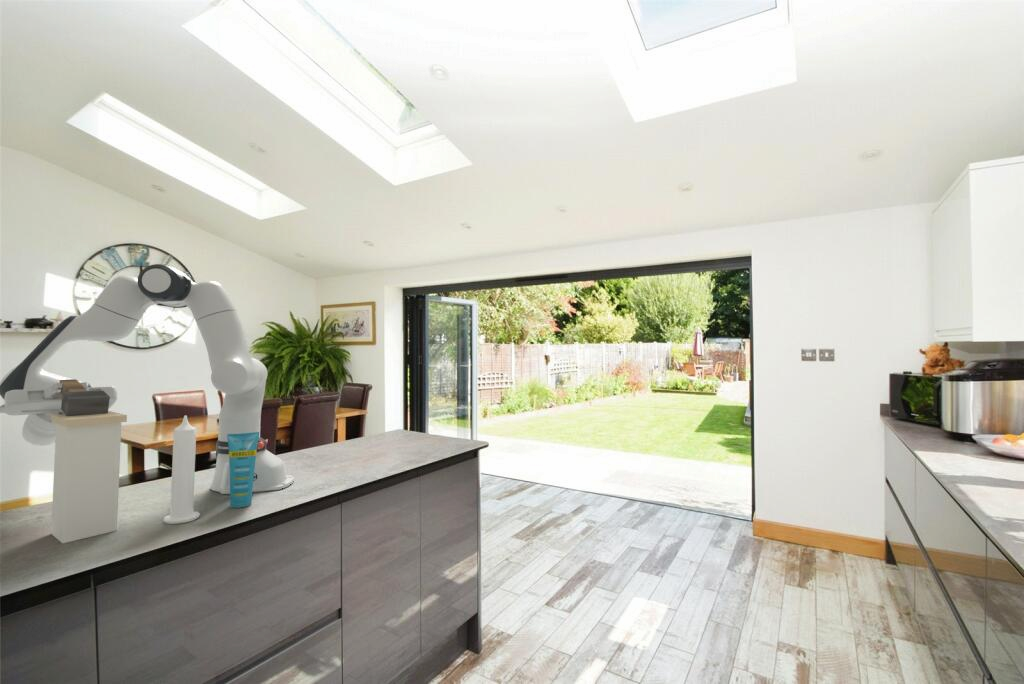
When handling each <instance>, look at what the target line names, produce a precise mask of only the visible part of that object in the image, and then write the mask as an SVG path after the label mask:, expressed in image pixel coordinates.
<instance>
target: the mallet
mask: <svg viewBox="0 0 1024 684" xmlns="http://www.w3.org/2000/svg"><path fill="white" fill-rule="evenodd" d="M72 379H73V380H68V379H67V380H60V383H63V390H62V392H59V393H60V394H61V395H62V404H61V410H62V411H63V412H64V414H65V415H66V416H78V415H92V414H106V413H108V411H109V409H110V408H109V400H110V396H109V395H107V394H106V393H105V392H104V391H103V390H102V391H87V390H86V389H85V388H84V387H83V386H82V385H81V384H80V383H79V382H78V381H77V380H78V379H75V378H72ZM108 408H109V409H108Z"/></svg>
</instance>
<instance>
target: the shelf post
mask: <svg viewBox="0 0 1024 684" xmlns="http://www.w3.org/2000/svg"><path fill="white" fill-rule="evenodd" d="M127 416H128V415H127V414H124V413H120V412H115V411H111V410H108V413H106V414H92V415H78V416H66V415H65V414H58V415H52V418H51V422H54V423H56V438H55V443H54V463H53V486H52V487H53V488H52V506H51V508H52V509H51V526H50V527H51V528H50V531H51V532H50V534H51V535H52V536H53V537H54V538H55V539H56V540H58V541H59V542H60V543H61V544H66V543H67V544H68V543H69V542H74V541H79V540H83V539H87V538H91V537H95V536H101V535H104V534H108V533H112V532H116V531H117V530H118V518H119V517H118V513H119V512H118V511H119V493H120V492H119V489H120V487H119V486H120V468H121V467H120V466H121V465H120V464H121V445H122V444H121V441H122V436H121V435H122V423H126V422H127V421H128V420H127V418H128V417H127Z"/></svg>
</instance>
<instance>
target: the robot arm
mask: <svg viewBox="0 0 1024 684" xmlns="http://www.w3.org/2000/svg"><path fill="white" fill-rule="evenodd" d="M93 302H94V303H93V304H92V305H91V307H89V309H88V310H86V311H85V312H83V313H81V314H79V315H69V316H67V318H65V319H63V320H62V321H61V322H60V323H58V325H57V326H56V327H55V328H54V329H53V330H51V331H50V333H48V335H47V336H45V338H44V339H42V340H41V341H40V342H39V344H38V345H36V347H35V348H34V349H33V350H32V351H31V352H30V353H29V354H28V355H27V356H26V357H25V358H24V359H23V360H22V361H21V362H20V363H19V364H18V365H16V366H15V367H14V368H12V369H11V370H9V372H7V373H5V375H4V376H3V377H2V379H1V380H0V397H1V398H2V399H3V401H4V403H3V404H1V405H0V414H6V415H9V416H26V418H25V421H24V423H23V425H22V432H21V433H22V435H21V436H22V437H23V439H24V440H25V441H26V442H28V443H29V444H31V445H35V446H38V447H39V446H50V445H52V444H55V438H56V423H54V422H51V418H52V415H58V414H64V412H63V411H62V410H61V404H62V395H61V394H60V393H59V392H62V390H63V383H60V380H73V379H74V378H71V377H68V376H64V375H62V374H61V375H60V374H57V373H53V372H50V371H48V370H45V369H44V368H43V366H45V364H46V363H47V362H48V361H49V360H50V359H51V358H52V356H54V355H55V353H57V351H58V350H59V349H60V348H61V347H62V346H64V345H65V344H67V343H71V342H75V341H88V342H89V341H90V342H91V341H92V342H113V341H114V342H115V341H120V340H122V339H125V338H127V337H128V336H130V335H131V334H132V332H133V331H134V330H135V328H137V326H138V324H139V323H140V320H141V319H142V317H143V315H144V313H146V311H147V310H148V309H149V308H150V307H151V306H154V305H157V306H159V307H160V306H161V307H169V308H173V309H174V308H175V309H183V308H187V307H188V308H189V310H190V311H191V313H192V316H193V317H194V320H195V322H196V325H197V327H198V330H199V333H200V334H201V337H202V340H203V342H204V345H205V347H206V348H205V349H206V351H207V357H208V361H209V365H210V366H209V367H210V369H211V374H210V380H211V383H212V385H213V387H214V388H215V389H216V390H217V391H218V392H221V393H222V394H225V395H224V398H223V402H222V406H221V409H220V411H219V415H218V433H217V434H218V435H217V437H218V439H217V440H216V444H215V458H216V464H215V469H214V470H215V471H214V473H213V478H212V482H211V484H210V487H209V489H210V490H211V491H213V492H218V493H220V494H221V495H230V464H229V447H228V439H227V434H240V433H251V432H259V439H258V445H257V452H256V460H255V469H254V479H253V490H252V493H256V492H268V491H269V492H270V491H279V490H282V488H283V489H285V488H288V487H289V486H291V485H292V484H293V483H294V482H293V481H295V477H294V476H293V475H292V474H288V472H287V468H286V467H287V466H286V463H285V462H284V460H283V459H281V458H280V457H278V456H277V455H275V453H274V454H273V453H272V452H271V451H269V450H268V449H267V444H268V443H269V442H268V440H269V439H268V438H267V439H264V438H263V437H262V436H261V421H262V420H261V419H262V417H261V416H262V408H263V404H264V396H265V392H266V391H265V389H266V386H267V385H266V384H267V379H268V369H267V367H266V365H265V364H264V363H263V362H262V361H260V360H258V359H257V358H254V357H251V354H250V350H249V345H248V343H247V342H248V341H247V332H246V330H245V328H244V325H243V324H242V321H241V318H240V316H239V314H238V310H237V308H236V307H235V304H234V302H233V300H232V298H231V297H230V295H229V294H228V292H227V291H226V289H225V287H224V286H223V285H222V284H221V283H219V282H218V281H215V280H202V281H198V282H197V281H196V282H195V280H194V279H193V278H192V277H190V276H188V275H187V274H186V273H185V272H183V271H182V270H179V269H177V268H175V267H173V266H170V265H168V264H163V263H157V264H151V265H148V266H145V267H144V268H143V269H142V270H141V271H140V272H139V273H138V276H137V277H135V276H132V275H119V276H117V277H114V278H113V279H112V280H111V281H110V282H109V283H108V285H107V286H105V288H104V289H103V290H102V291H101V292H100V294H99V295H98V296H97V298H96V299H95V301H93ZM76 380H77V381H78V382H79V383H80V384H81V385H82V386H83V387H84V388H85V389H86V390H87V391H102V390H103V391H104V392H105V393H106V394H107V395H109V396H110V400H109V408H108V410H109V409H111V407H113V406H114V405H115V403H116V402H117V400H118V393H117V389H116V387H114V386H95V387H92V386H91V384H90V383H88V382H85V381H83V380H82V381H81V380H78V379H76ZM290 484H291V485H290Z"/></svg>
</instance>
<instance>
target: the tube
mask: <svg viewBox="0 0 1024 684" xmlns="http://www.w3.org/2000/svg"><path fill="white" fill-rule="evenodd" d="M227 439H228V447H229V464H230V494H229V506H230V507H231V508H235V509H238V508H239V509H240V508H246V507H249V506H251V504H252V498H253V492H252V490H253V479H254V469H255V460H256V452H257V445H258V439H259V432H251V433H240V434H227Z"/></svg>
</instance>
